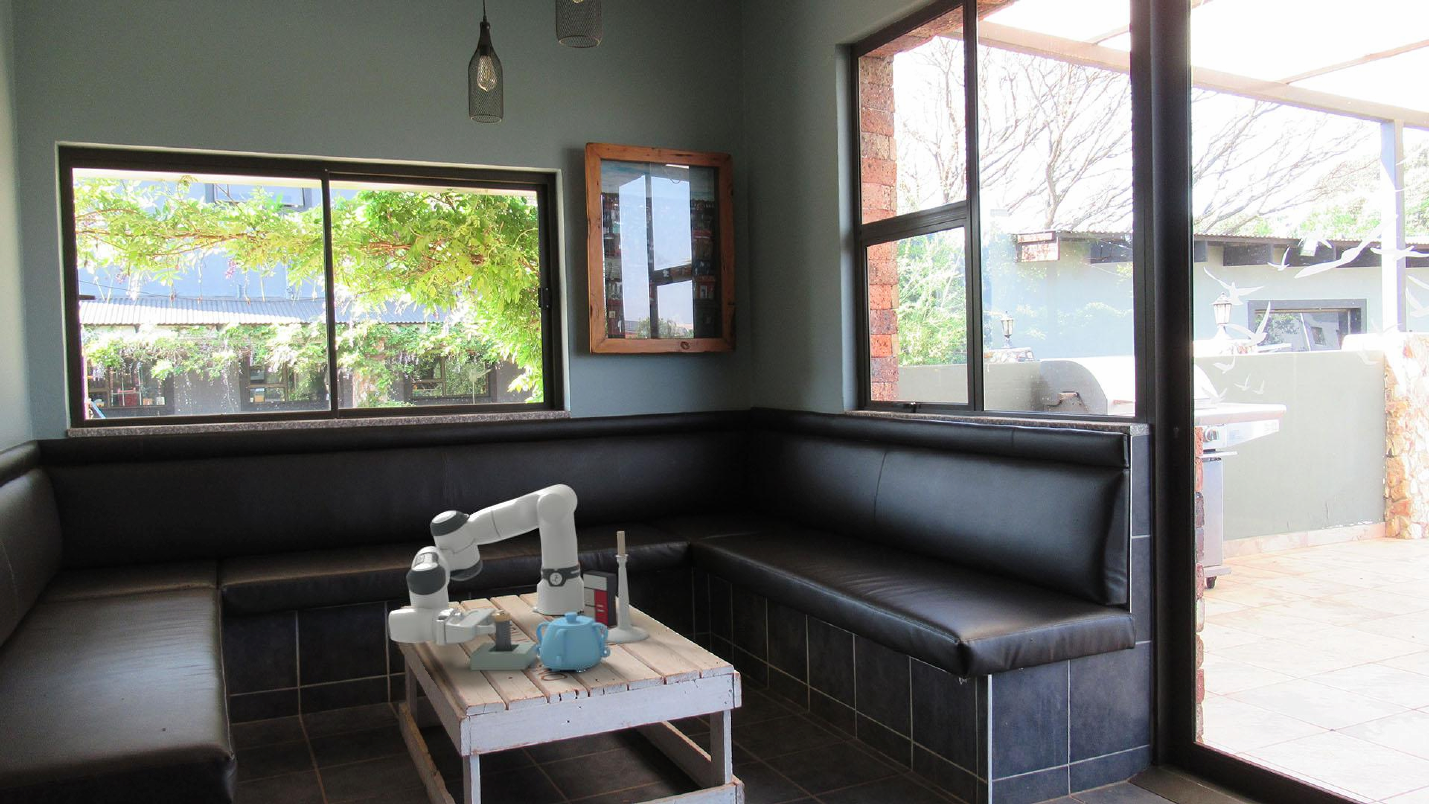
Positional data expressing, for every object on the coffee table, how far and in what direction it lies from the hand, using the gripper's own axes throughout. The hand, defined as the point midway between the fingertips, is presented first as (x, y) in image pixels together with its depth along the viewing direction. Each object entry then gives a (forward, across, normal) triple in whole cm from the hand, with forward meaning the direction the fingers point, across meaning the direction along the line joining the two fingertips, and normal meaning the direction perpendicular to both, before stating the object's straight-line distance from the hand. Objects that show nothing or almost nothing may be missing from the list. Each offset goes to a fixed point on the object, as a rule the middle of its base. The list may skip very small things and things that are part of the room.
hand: (501, 624), depth 256 cm
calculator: (+17, -39, -10) cm, 44 cm away
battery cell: (0, 0, -9) cm, 9 cm away
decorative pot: (+19, +3, -10) cm, 22 cm away
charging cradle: (0, 0, -10) cm, 10 cm away
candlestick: (+27, -24, -10) cm, 38 cm away
